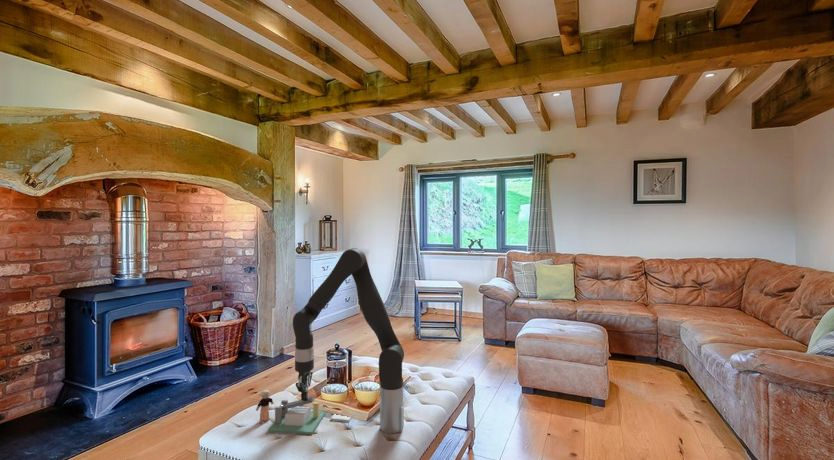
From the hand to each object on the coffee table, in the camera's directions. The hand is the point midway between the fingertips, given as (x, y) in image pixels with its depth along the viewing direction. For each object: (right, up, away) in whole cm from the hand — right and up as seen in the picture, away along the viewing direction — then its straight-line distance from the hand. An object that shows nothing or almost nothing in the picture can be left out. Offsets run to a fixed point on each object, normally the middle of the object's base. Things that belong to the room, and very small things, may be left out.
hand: (304, 399), depth 159 cm
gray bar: (-3, -3, 0) cm, 4 cm away
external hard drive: (+15, -10, +8) cm, 20 cm away
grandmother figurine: (-17, -10, +3) cm, 20 cm away
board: (-3, -10, 0) cm, 10 cm away
